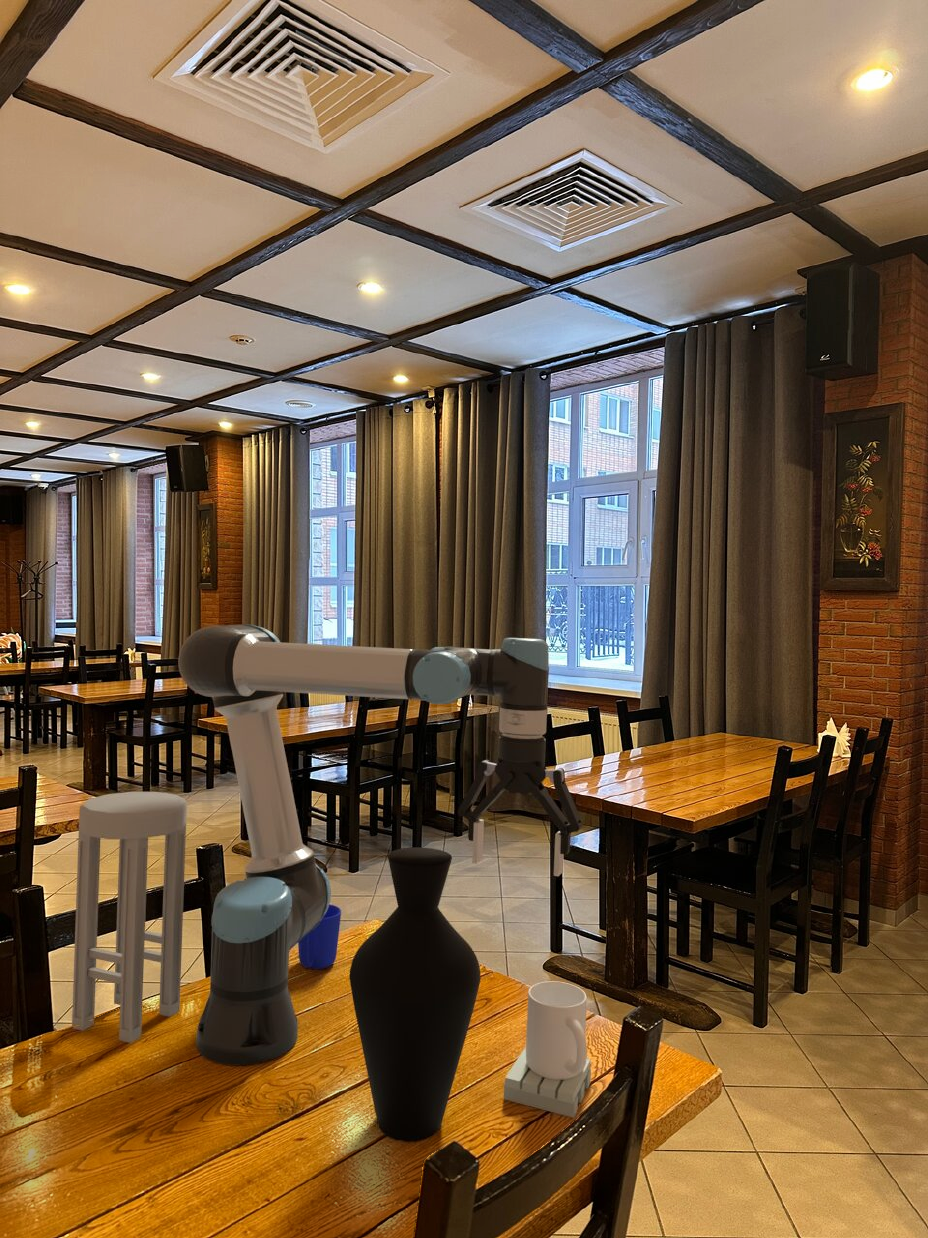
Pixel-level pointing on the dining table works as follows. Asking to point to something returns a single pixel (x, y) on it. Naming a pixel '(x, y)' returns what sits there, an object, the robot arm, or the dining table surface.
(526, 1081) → the block
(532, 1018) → the mug
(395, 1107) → the vase
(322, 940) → the mug
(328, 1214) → the dining table surface
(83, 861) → the stool
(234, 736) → the robot arm
